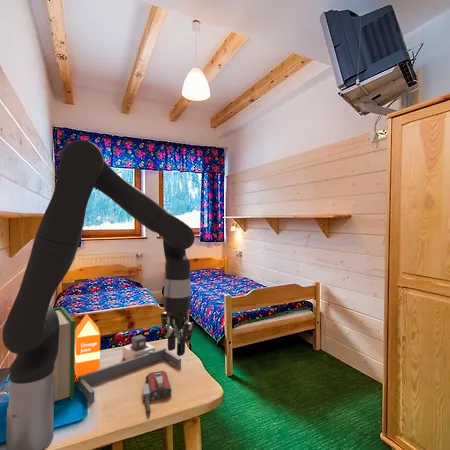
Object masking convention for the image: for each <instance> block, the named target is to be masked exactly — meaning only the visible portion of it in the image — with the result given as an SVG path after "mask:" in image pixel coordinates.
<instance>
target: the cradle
mask: <svg viewBox="0 0 450 450" xmlns="http://www.w3.org/2000/svg"><path fill="white" fill-rule="evenodd" d="M163 359H164V360H165V361H167V360H168V361H167V362H168V363H170V362H171V363H170V364H172V363H173V364H175V365H176V366H178V367H179V366H181V367H182V358H180V356H178V355H177V354H174V353H173V352H171V351H169V350H168V349H167V348H166V347H163V348H160V349H157V350H155V351H154V352H153V351H150V352H149V353H147V354H144V355H141V356H138V357H135V358H132V359H129V360H123V361H120V362H117V363H114V364H111V365H108V366H105V367H102V368H100V369H99V370H96V371H93V372H89V373H86V374H83V375H80V376H78V380H77V388H78V387H79V388H80V389H81V390H82V392H83V393H84V394H85V396H86V397H85V396H84V397H85V398H86V399H87V401H88V402H89V403H91V404H92V403H94V402H95V390H94V389H93V388H92V387H91V386H90V385H92V384H95V383H98V382H101V381H105V380H106V379H110V378H112V377H115V376H118V375H120V374H123V373H127V372H129V371H132V370H134V369H138V368H141V367H144V366H146V365H149V364H152V363H154V362H158V361H159V360H160V361H161V360H163ZM173 364H172V365H173ZM175 365H174V366H175ZM176 366H175V367H176ZM178 367H177V368H178ZM179 368H180V367H179ZM79 388H78V389H79ZM80 389H79V390H80ZM82 392H81V393H82ZM83 393H82V394H83ZM84 394H83V395H84Z"/></svg>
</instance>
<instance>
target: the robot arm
mask: <svg viewBox="0 0 450 450" xmlns="http://www.w3.org/2000/svg"><path fill="white" fill-rule="evenodd" d="M58 166H59V167H58V169H57V170H58V171H57V177H56V181H55V182H56V183H55V185H54V190H53V194H52V196H51V198H50V201H49V203H48V205H47V207H46V209H45V211H44V214H43V216H42V218H41V220H40V223H39V226H38V229H37V232H36V235H35V237H34V240H33V243H32V248H31V251H30V255H29V258H28V262H27V265H26V267H25V271H24V274H23V276H22V280H21V284H20V288H19V290H18V292H17V294H16V298H15V300H14V302H13V304H12V307H11V308H10V311H9V313H8V315H7V317H6V320H5V322H4V324H3V328H2V336H1V337H2V342H3V345H4V348H6V349H7V350H8V351H9V352H11V353H12V354H15V355H16V357H15V359H14V360H13V361H12V363H11V364H10V366H9V372H8V373H9V374H8V376H9V378H8V380H9V381H8V406H7V407H6V440H5V441H6V445H5V446H6V449H7V450H45V448H47V447H48V446H50V444H51V443H52V441H53V438H54V429H55V428H54V417H55V416H54V409H55V406H54V405H55V401H54V364H55V360H56V358H57V354H58V345H59V318H58V315H57V313H56V311H55V310H54V309H53V307H52V306H51V305H50V304H51V301H52V299H53V297H54V294H55V293H56V290H57V289H58V287H59V286H60V284H61V283H62V281H63V280H64V278H65V277H66V276H67V273H68V272H69V270H70V268H71V267H72V264H73V262H74V260H75V257H76V254H77V251H78V248H79V245H80V241H81V238H82V233H83V229H84V224H85V219H86V218H85V217H86V212H87V206H88V204H89V203H88V202H89V201H90V197H91V195H92V192H93V190H94V188H95V189H96V190H98V191H99V192H101V193H102V194H104V195H105V196H106V197H108V199H111V200H112V201H113V202H114V203H115V204H117V205H118V206H119V207H120V208H121V209H122V210H123V211H125V212H126V213H127V214H128V215H129V216H131V217H132V218H133V219H134V220H136V221H137V222H138V223H140V224H141V225H143V226H144V227H145V228H146V229H148V230H149V231H152V232H153V233H156V234H157V235H159V236H161V237H162V245H163V253H164V258H165V279H164V286H163V287H164V288H163V291H164V292H163V310H164V311H165V312H162V313H160V318H161V326H162V332H163V334H164V335H165V334H166V335H165V336H166V337H167V351H169V352H171V351H174V350H175V349H176V356H177V357H181V356H184V355H185V352H186V343H189V342H191V340H192V336H193V333H194V328H195V322H191V321H189V317H188V312H189V310H190V309H191V287H192V285H191V261H190V259H189V258H188V256H187V253H186V250H188V249H190V248H191V247H192V246H193V244H194V243H195V232H194V231H193V229H192V227H190V226H189V225H188V224H186V223H185V222H184V221H183V220H182V219H179V218H178V217H176V216H174V215H173V214H171V213H169V212H168V211H166V209H165V208H164V207H162V206H161V205H160V204H159V203H158V202H156V201H155V200H154V199H152V198H151V197H150V196H149V195H147V194H146V193H145V192H143V191H141V190H140V189H138V188H137V187H136V186H134V185H133V184H131V183H130V182H128V181H127V180H125V179H124V178H123V177H122V176H121V175H120V174H118V173H117V172H116V171H114V169H112V167H111V166H110V165H109V164H108V163H107V161H105V160H104V155H103V153H102V151H101V149H100V148H99V147H98V146H97V145H96V144H95V143H93V142H91V141H89V140H85V139H75V140H72V141H70V142H69V143H67V144H66V145H65V146H64V147H63V148H62V150H61V151H60V158H59V165H58Z"/></svg>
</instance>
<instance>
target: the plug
mask: <svg viewBox="0 0 450 450" xmlns="http://www.w3.org/2000/svg"><path fill="white" fill-rule="evenodd" d="M146 342H147V337H146V336H144V335H142V334H138V335H135V336H132V337H131V344H132V347H131V348H132V349H133V350H134V351H139V350H142V349H145V348H146Z"/></svg>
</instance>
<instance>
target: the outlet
mask: <svg viewBox="0 0 450 450" xmlns="http://www.w3.org/2000/svg"><path fill="white" fill-rule="evenodd" d="M131 347H132V343H130V344H126V345H124V346H122V359H123V360H124V361H126V360H129V359H132V358H135V357H138V356H141V355H144V354H147V353H149V352H150V351H153V352H154V351H156V347H155V346H153V345H151V344H150V343H148V342H147V341H146V348H145V349H142V350H139V351H134V350H133V349H132V348H131Z"/></svg>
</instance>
